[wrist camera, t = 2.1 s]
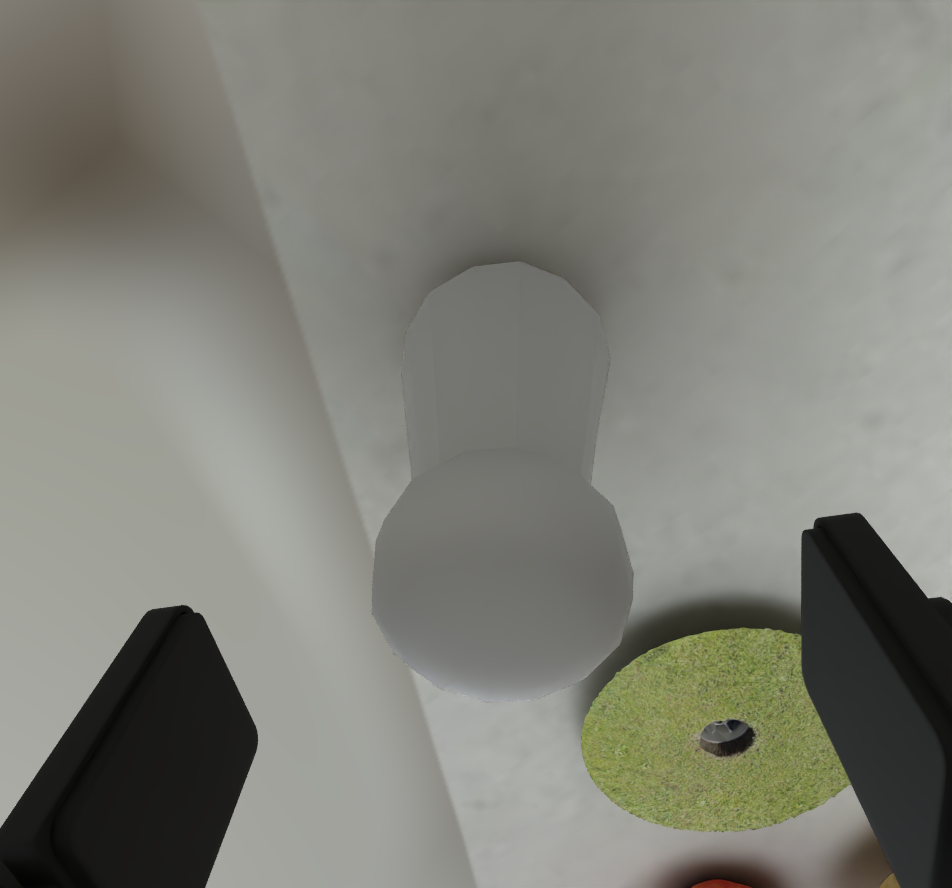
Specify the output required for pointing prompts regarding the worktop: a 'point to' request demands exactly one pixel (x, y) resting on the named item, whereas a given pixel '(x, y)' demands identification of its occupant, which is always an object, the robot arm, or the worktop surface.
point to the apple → (719, 884)
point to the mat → (712, 734)
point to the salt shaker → (503, 493)
